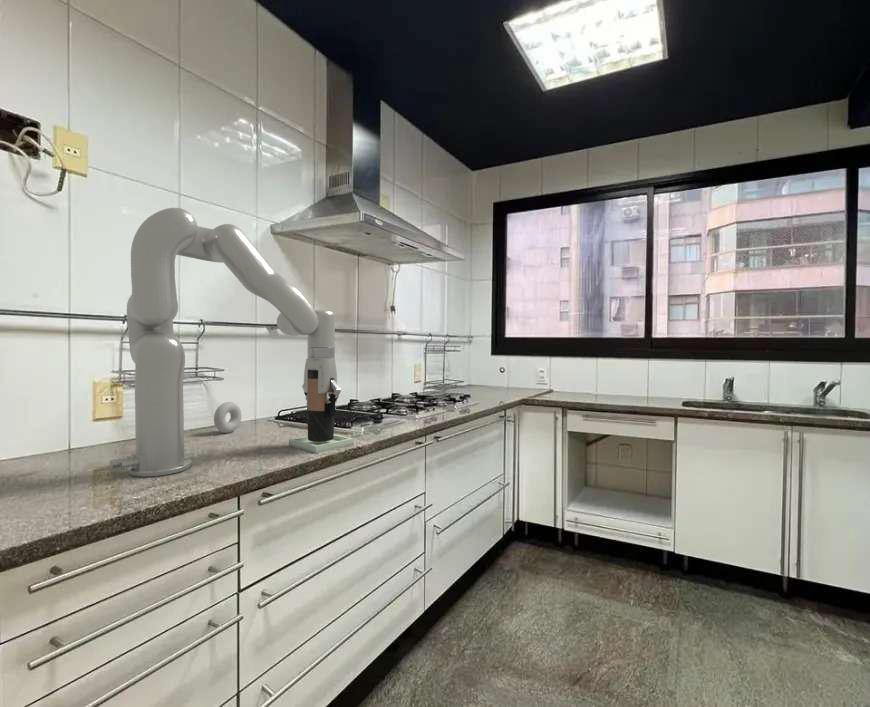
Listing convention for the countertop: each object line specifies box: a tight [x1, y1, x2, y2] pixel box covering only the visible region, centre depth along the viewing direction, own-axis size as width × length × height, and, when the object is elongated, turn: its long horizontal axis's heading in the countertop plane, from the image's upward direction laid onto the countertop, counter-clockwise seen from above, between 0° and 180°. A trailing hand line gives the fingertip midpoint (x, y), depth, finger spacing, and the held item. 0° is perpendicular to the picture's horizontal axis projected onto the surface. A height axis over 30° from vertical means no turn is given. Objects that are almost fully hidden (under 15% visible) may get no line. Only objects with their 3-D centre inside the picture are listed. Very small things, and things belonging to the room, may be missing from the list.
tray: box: [288, 433, 355, 454], centre depth 130 cm, size 13×13×2 cm
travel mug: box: [306, 370, 335, 442], centre depth 129 cm, size 8×8×20 cm
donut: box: [213, 401, 242, 434], centre depth 146 cm, size 10×4×10 cm, turn 158°
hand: (320, 415), depth 129 cm, fingers closed on travel mug, 7 cm apart
